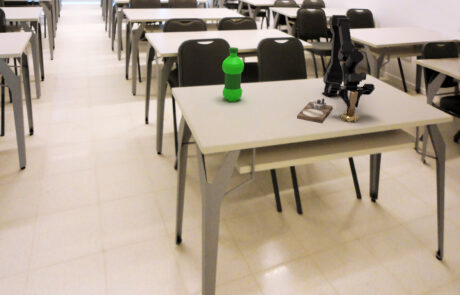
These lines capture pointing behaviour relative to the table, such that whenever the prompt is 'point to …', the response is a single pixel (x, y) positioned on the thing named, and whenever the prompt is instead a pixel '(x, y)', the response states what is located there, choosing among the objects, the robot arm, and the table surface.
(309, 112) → the gear board
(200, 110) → the table surface
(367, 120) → the table surface
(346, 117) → the brass gear
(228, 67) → the plastic bottle
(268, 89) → the table surface
